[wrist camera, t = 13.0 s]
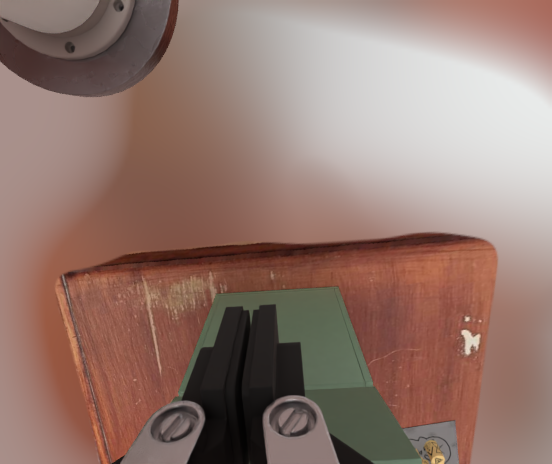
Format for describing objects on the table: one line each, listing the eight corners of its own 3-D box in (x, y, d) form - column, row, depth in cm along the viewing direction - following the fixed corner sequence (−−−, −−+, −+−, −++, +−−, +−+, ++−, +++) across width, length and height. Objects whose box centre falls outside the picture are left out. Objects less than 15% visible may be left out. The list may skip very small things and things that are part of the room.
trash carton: (216, 293, 35) (177, 392, 22) (338, 286, 34) (373, 381, 21) (232, 416, 39) (208, 560, 26) (341, 411, 39) (372, 554, 26)
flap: (175, 403, 21) (175, 396, 21) (375, 392, 21) (375, 385, 21) (114, 482, 14) (114, 472, 14) (422, 469, 13) (421, 458, 13)
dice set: (394, 440, 40) (400, 455, 38) (440, 433, 39) (448, 448, 37) (399, 474, 41) (405, 490, 39) (444, 467, 41) (452, 483, 39)
